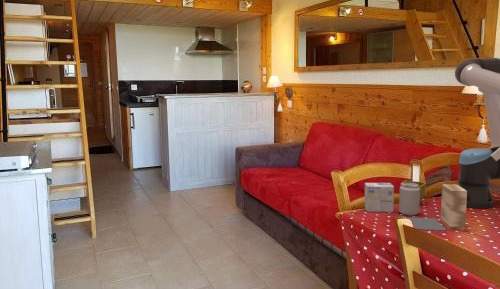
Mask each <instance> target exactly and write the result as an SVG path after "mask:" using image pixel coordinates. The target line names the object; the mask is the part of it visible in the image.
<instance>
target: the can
mask: <svg viewBox="0 0 500 289" xmlns="http://www.w3.org/2000/svg"><path fill="white" fill-rule="evenodd" d="M401 183H402V182H401ZM419 201H420V188H419V187H418V184H415V183H402V186H401V187H399V201H398V212H400V214H401V215H404V216H410V217H412V216H413V217H414V216H417V215H418V214H420V203H419Z"/></svg>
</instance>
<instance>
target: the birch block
mask: <svg viewBox="0 0 500 289" xmlns="http://www.w3.org/2000/svg"><path fill="white" fill-rule="evenodd" d="M466 203H467V191H466V190H465V189H463V188H462V187H460V186H458V183H457V184H454V183H452V184H451V183H447V184H446V183H442V186H441V204H440V205H441V206H440V208H441V209H440V223H442V224H443V225H444V226H445V227H446V229H448V230H449V231H465V230H466V216H467V207H466Z"/></svg>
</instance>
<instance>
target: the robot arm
mask: <svg viewBox="0 0 500 289" xmlns="http://www.w3.org/2000/svg"><path fill="white" fill-rule="evenodd" d="M454 78H455V80H456V81H457V82H458V83H460V84H461V85H463V86H465V87H466V86H467V87H472V86H473V87H476V88H478V91H479V93H482V95H483V100H484V107H485V108H484V109H485V112H486V118H487V126H488V132H489V138H490V144H491V145H490V147H489V148H486V147H485V148H483V147H481V148H479V147H476V148H468V149H465V150H464V149H463V151H461V152H460V155H459V160H458V162H459V164H458V165H459V168H458V181H457V182H458V183H457V185H458V186H460V187H462V188H463V189H465V190H466V191H467V203H466V208H471V209H490V208H493V207H494V199H493V195H492V191H491V188H490V187H491V186H490V183H491V182H490V181H491V180H500V57H499V58H498V57H493V58H492V57H491V58H489V57H488V58H485V57H483V58H467V59H465V60H463V61H461V62H460V63H459V64H458V65H457V66H456V67H455V71H454Z"/></svg>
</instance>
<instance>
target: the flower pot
mask: <svg viewBox="0 0 500 289" xmlns="http://www.w3.org/2000/svg"><path fill="white" fill-rule="evenodd" d="M402 183H415V184H418V187H419V188H420V201H419V204H420V203H421V202H422V201H423V198H424V196H425V192H426V187H427V182H423V181H415V180H414V181H413V180H404V181H402V182H401V183H400V184H399V186H400V187H401V186H402ZM400 187H399V188H400Z"/></svg>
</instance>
